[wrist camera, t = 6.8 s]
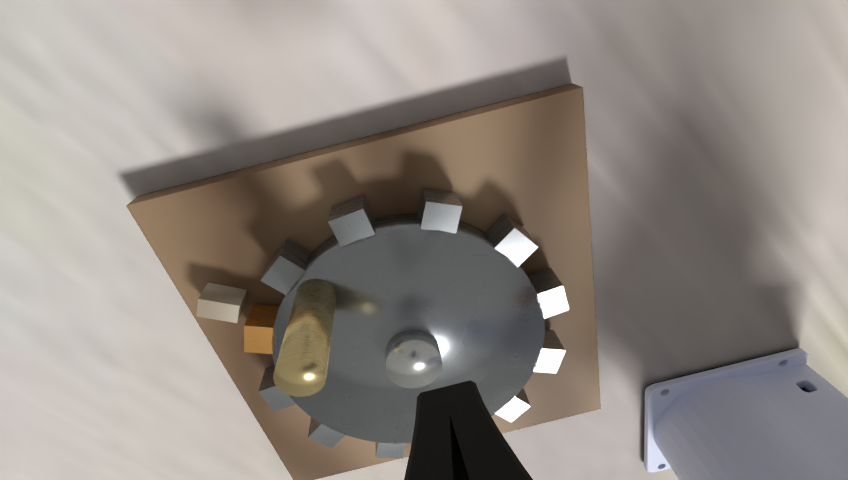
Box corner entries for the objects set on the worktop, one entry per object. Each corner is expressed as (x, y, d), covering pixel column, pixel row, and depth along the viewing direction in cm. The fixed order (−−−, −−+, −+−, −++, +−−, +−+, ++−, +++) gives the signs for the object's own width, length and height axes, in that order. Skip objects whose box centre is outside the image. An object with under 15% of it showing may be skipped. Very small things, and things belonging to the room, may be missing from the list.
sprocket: (254, 164, 16) (197, 235, 11) (599, 211, 19) (688, 289, 14) (251, 427, 23) (214, 555, 17) (511, 438, 25) (548, 552, 20)
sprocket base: (572, 83, 17) (597, 92, 15) (592, 395, 26) (610, 426, 24) (138, 196, 18) (109, 218, 16) (298, 468, 26) (292, 504, 24)
